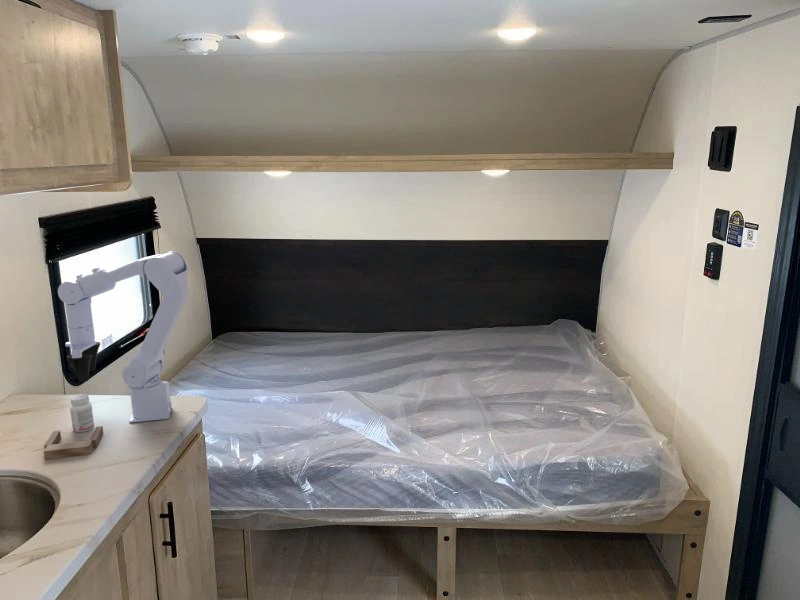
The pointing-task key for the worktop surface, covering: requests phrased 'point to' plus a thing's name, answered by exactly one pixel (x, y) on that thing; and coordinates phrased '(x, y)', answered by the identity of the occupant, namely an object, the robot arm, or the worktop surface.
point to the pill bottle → (81, 413)
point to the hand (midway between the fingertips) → (87, 375)
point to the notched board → (71, 445)
